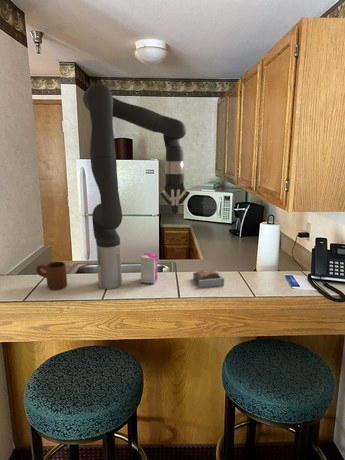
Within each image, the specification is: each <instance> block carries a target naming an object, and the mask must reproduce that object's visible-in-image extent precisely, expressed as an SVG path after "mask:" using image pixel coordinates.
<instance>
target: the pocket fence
mask: <svg viewBox="0 0 345 460" xmlns="http://www.w3.org/2000/svg"><path fill="white" fill-rule="evenodd" d="M207 271H208V270H207ZM207 271H205V272H207ZM215 271H216V272H217V273H218V275H217V279H206V280H199V282H198V288H199V289H201V288H203V289H204V288H212V287H222V286H225V277H223V276H222V275H221V273H220V272H219V271H218V270H215ZM192 273H193V275H192V276H193V278H192V279H193V281H194V280H196V281H197V271H195V272H192Z"/></svg>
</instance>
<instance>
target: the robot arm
mask: <svg viewBox="0 0 345 460" xmlns="http://www.w3.org/2000/svg"><path fill="white" fill-rule="evenodd" d="M82 102H83V105H84V106H85V108H86V109H87V110H88V111H89V114H90V122H91V135H90V136H91V137H90V144H89V145H90V146H89V156H90V167H91V173H92V175H93V178H94V181H95V183H96V186H97V188H98V190H99V191H98V192H99V195H100V196H99V197H100V203H98V204H97V205H96V206H94V208H93V210H92V214H91V215H92V228H93V230H92V231H93V236H94V239H95V243H96V244H95V245H96V259H97V260H96V261H97V277H98V278H97V281H98V289H105V290H112V289H113V290H114V289H116V288H119V287H121V286H122V284H123V279H122V256H121V254H122V253H121V237H120V236H119V233H117V230H116V229H118V228H119V226H120V225H122V221H123V212H122V211H123V210H122V205H121V200H120V193H119V180H118V172H117V171H118V169H117V166H118V165H117V153H116V143H115V136H114V128H113V127H114V125H113V119H114V118H116V119H119V120H122V121H125V122H127V123H130V124H133V125H135V126H138V127H139V128H142V129H144V130H147V131H150V132H152V133H158V134H159V133H160V134H162V136H163V141H164V142H163V143H164V146H165V167H164V168H165V169H164V172H165V175H164V176H165V178H164V179H165V184H164V188H163V190H161V191H159V192H158V193H159V195H160V196H161V198H162V199H163V201H165V202H166V204H167V205H170V213H171V214H172V215H177V214H178V213H179V205H182V204H183V203H184V202H185V200H186V199H187V198H188V197H189V196H190V191H188V190H186V189H185V188H186V187H185V185H184V184H185V183H184V179H185V177H184V176H185V175H184V174H185V173H184V172H185V170H184V168H185V166H184V149H183V147H182V146H181V143H180V140H181V139H182V138H183V139H184V137H185V136H186V133H187V126H186V125H185V123H184V122H183V121H181V120H180V119H176V118H173V117H169V116H165V115H163V114H160V113H158V112H155V111H154V110H151V109H149V108H145V107H142V106H139V105H135V104H132V103H128V102H125V101H122V100H120V99H118V98H115V97H113V93H112V92H111V90H110V89H109V87H108V86H107V85H105V84H103V83H94V84H92V85H91V86H90V87H88V88H87V89H86V90H84V93H83V95H82ZM166 195H167V196H168V197H169V199H168V197H167V196H166Z"/></svg>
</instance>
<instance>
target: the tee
mask: <svg viewBox="0 0 345 460" xmlns="http://www.w3.org/2000/svg"><path fill="white" fill-rule="evenodd" d="M216 271H217V270H209V271H208V270H207V272H206V271H204V270H197V271H196V272H197V280H196V281H197V282H198V283H199V280H206V279H217V275H218V273H217V272H216Z"/></svg>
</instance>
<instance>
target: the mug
mask: <svg viewBox="0 0 345 460" xmlns="http://www.w3.org/2000/svg"><path fill="white" fill-rule="evenodd" d="M65 263H66V262H63V261H54V262H52V261H51V262H49V263H47V264H37V266H36V270H35V271H36V273H37V275H38V276H39V277H42V278H45V279H46V285H47V288H48V289H49V290H50V291H59V290H63V289H65V288H66V287H67V286H68V278H67V277H68V276H67V267H66V264H65ZM42 269H43V270H44V271H45V272H43V271H42Z"/></svg>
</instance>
